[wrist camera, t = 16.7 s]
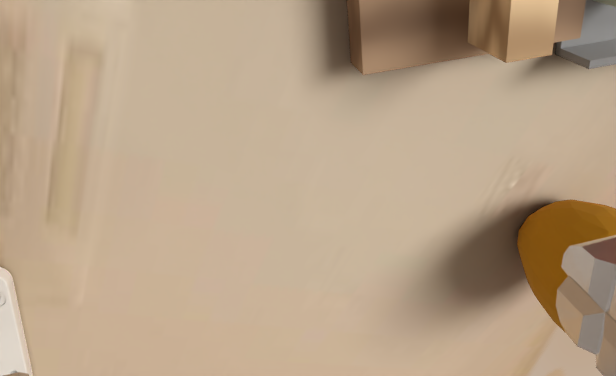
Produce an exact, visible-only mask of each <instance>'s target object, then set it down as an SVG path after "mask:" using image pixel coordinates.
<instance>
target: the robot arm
mask: <svg viewBox="0 0 616 376" xmlns="http://www.w3.org/2000/svg"><path fill="white" fill-rule="evenodd" d="M561 267H562V269H563V270H564V271H565V272H566V274H567V275H568V277H567V278H566V279H565V280H564V282H563V283H562V284H561V285H560V287H559V288H558V289H557V298H556V308H557V312H558V316H559V320H560V323H561V325H562V326H563V328H564V330H565V332H566V333H567V335H568V336H569V337H570V338H571V339H572V341H573V342H574V343H575V344H576V345H577V346H578V347H580V348H583V349H585V350H587V351H589V352H591V353H593V354H596V368H597V369H598V370H599V371H600V372H601V374H602V375H603V376H616V235H613V236H609V237H605V238H601V239H597V240H592V241H588V242H584V243H580V244H576V245H571V246H569V247H568V249H567V250H566V251H565V253H564V255H563V260H562V265H561ZM0 376H33V373H32V368H31V364H30V359H29V354H28V349H27V344H26V340H25V335H24V330H23V325H22V320H21V316H20V311H19V306H18V301H17V296H16V292H15V287H14V282H13V278H12V276H11V274H10V273H9V272H8V271H7V270H6V269H4V268H2V267H0Z"/></svg>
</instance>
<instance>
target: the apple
mask: <svg viewBox="0 0 616 376" xmlns="http://www.w3.org/2000/svg"><path fill="white" fill-rule="evenodd" d="M613 235H616V209H615V208H612V207H609V206H606V205H601V204H595V203H589V202H583V201H577V200H565V201H557V202H554V203H551V204H549V205H547V206H544V207H542V208H540V209H539V210H537V211H536V212H534V213H533V214H531V215H529V216H528V217H527V219H526V220H525V222H524V223H523V225H522V226H521V228H520V229H519V234H518V242H517V246H518V250H519V254H520V258H521V261H522V264H523V268H524V271H525V274H526V277H527V280H528V283H529V285H530V287H531V289H532V291H533V293H534V295H535V296H536V298H537V299H538V301H539V302H540V304H541V305H542V306H543V308H544V309H545V310H546V312H547V313H548V314H549V316H550V317H551V318H552V320H553V321H554V322H555V323H556V324H557V325H558V326H559V327H560V328H561V329H562V330H563V331H564V332H565V330H564V328H563V326H562V325H561V323H560V320H559V316H558V312H557V308H556V298H557V289H558V288H559V287H560V285H561V284H562V283H563V282H564V280H565V279H566V278H567V277H568V275H567V274H566V272H565V271H564V270H563V269H562V267H561V265H562V260H563V255H564V253H565V251H566V250H567V249H568V247H569V246H571V245H576V244H580V243H584V242H588V241H592V240H597V239H601V238H605V237H609V236H613Z"/></svg>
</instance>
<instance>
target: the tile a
mask: <svg viewBox="0 0 616 376" xmlns="http://www.w3.org/2000/svg"><path fill="white" fill-rule="evenodd" d="M593 1H596V2H599V3H603V4H607V5H610V6H614V7H616V0H593Z"/></svg>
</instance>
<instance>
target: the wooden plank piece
mask: <svg viewBox="0 0 616 376" xmlns="http://www.w3.org/2000/svg"><path fill="white" fill-rule="evenodd" d="M558 3H559V0H470V3H469V25H468V43H470V44H472V45H474V46H475V47H477V48H479V49H481V50H483V51H485V52H487V53H489V54H491V55H492V56H494V57H496V58H498V59H500V60H502V61H504V62H506V63H508V62H513V61H519V60H525V59H531V58H536V57H542V56H548V55H552V51H553V43H554V35H555V27H556V19H557V11H558Z"/></svg>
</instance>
